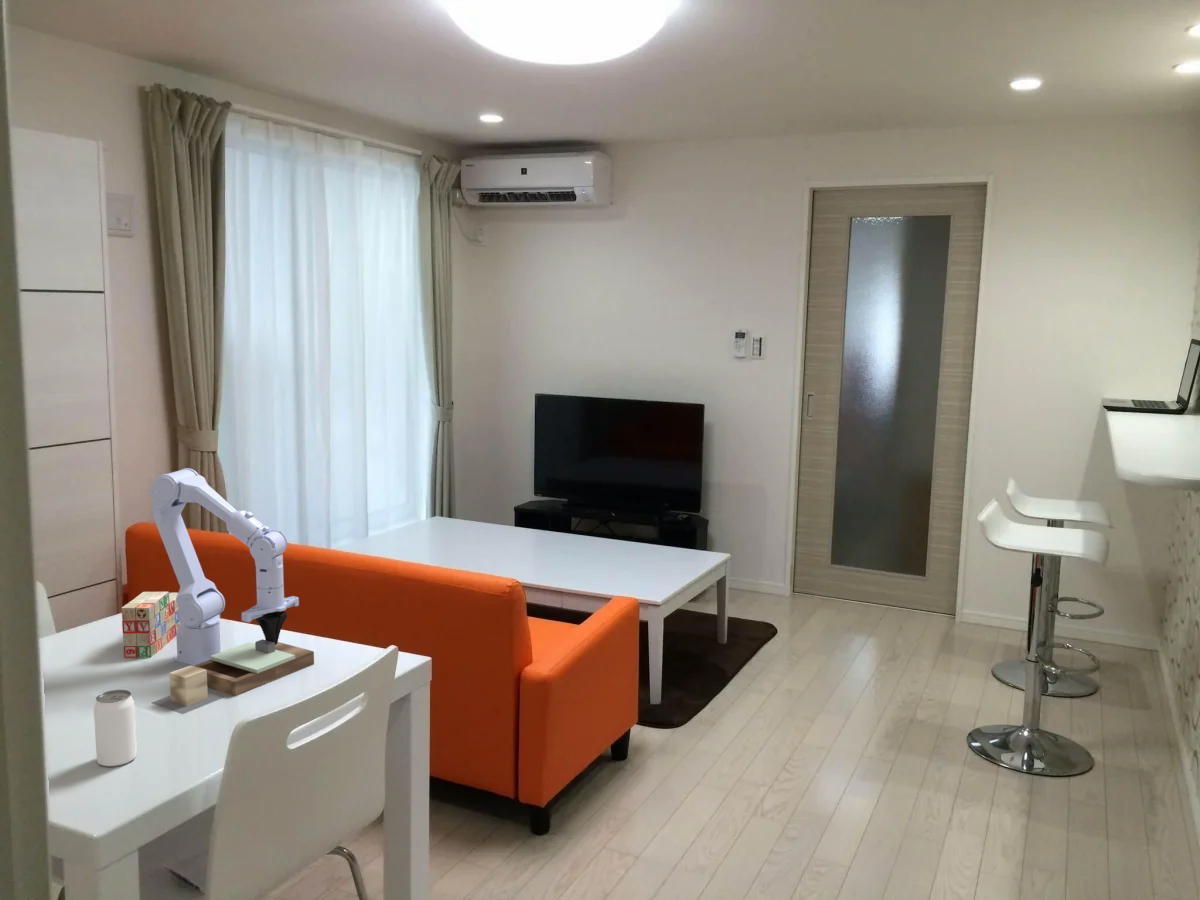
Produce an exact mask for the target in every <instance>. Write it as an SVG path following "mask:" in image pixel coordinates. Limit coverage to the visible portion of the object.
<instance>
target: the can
mask: <svg viewBox="0 0 1200 900" xmlns="http://www.w3.org/2000/svg"><path fill="white" fill-rule="evenodd" d="M95 700H96V702H94V706H93V715H94V716H93V717H94V719H93V720H94V721H93V722H94V734H95V735H94V736H95V748H96V749H95V750H96V761H97V763H98V765H100V766H101V767H105V768H115V767H120V766H125V765H128V764H130V763H131V762H133V761H134V760H135V759H136V757H137V755H138V745H137V744H138V743H137V724H136V708H135V700H134V698H133V697H132V692H131V691H130V690H129V689H112V690H108V691H105V692H101V693H99V694H98V695H97V696H96V697H95Z"/></svg>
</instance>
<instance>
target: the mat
mask: <svg viewBox="0 0 1200 900" xmlns="http://www.w3.org/2000/svg"><path fill="white" fill-rule="evenodd" d="M224 698H225V696H224V695H220V694H218V693H214V692H211V691H208V698H206V699H204V700H201V701H199V702H196V703H194V704H191V705H189V706H185V705H182V704H179V703H176V702H173V701H171V695H168V696H165V697H163V698H160V699H157V700H154V701H152V702H151V704H153V705H155V706H159V707H161V708H165V709H168V710H170V711H173V712H175V713H179V714H180V715H181V714H182V715H184V714H187V713H189V712H192V711H194V710H197V709H199V708H201V707H204V706H206V705H209V704H212V703H214V702H216V701H219V700H221V699H224Z"/></svg>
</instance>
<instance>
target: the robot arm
mask: <svg viewBox="0 0 1200 900" xmlns="http://www.w3.org/2000/svg"><path fill="white" fill-rule="evenodd" d="M148 491H149V493H150V494H149V495H150V496H151V499H152V500H151V501H152V503H151V504H152V507H151V508H152V509H151V510H152V511H151V512H152V513H151V514H152V517H153V520H154V523H155V525H156V527H157V530H158V532H159V536H160V538H161V540H162V542H163V545H164V548H165V551H166V553H167V555H168V558H169V561H170V565H171V566H172V570H173V572H174V574H175V577H176V579H177V582H178V585H179V591H178V592H177V593H178V595H177V597H176V601H177V604H178V616H179V619H180V621H181V622H182V623H181V624H180V625H179V627H178V629H177V633H176V636H175V638H176V653H177V657H174V659H173V661H175V662H181V663H184V664H187V665H189V666H190V665H191V666H194V665H197V664H200V663H202V662H205V661H208V660H210V656H212V655H215V654H217V653H220V652H222V650H221V625H220V623H221V621H220V620H221V614H222V613H223V611H224V610H225V607H226V599H225V597H224V595H223V594H222V593H221V591H219V590H218V589H217V586H216V584H215V582H213V581H211V580H210V579H208V578H206V576H205V574H204V571H203V568H202V565H201V563H200V561H199V558H198V555H197V553H196V550H195V547H194V544H193V543H192V540H191V537H190V535H189V532H188V529H187V526H186V524H185V522H184V519H183V517H182V512H183V510H184V509H185V507H186V504H187V503H197V504H198V505H200V506H202V507H203V508H205V509H206V510H207V511H209V512H211V513H212V514H213V515H215V516H216V517H218V518H219V519H220V520H222V521H224V522H225V523H226V525H225V526H226V530H227V532H229V533H230V534H231V535H232V536H234V537H235V538H236V539H237V540H238V541H240V542H241V543H243V544H244V545H245V546H246V547H248V548H249V553H250V555H251V557H252V558H253V559H254V565H255V576H256V578H255V580H256V581H255V582H256V605H253V606H252V607H250V608H249V609H247V610H244V611H242V612H241V621H242V622H244V623H251V622H252V621H253V620H255V621H256V622H257V623H258V625H259V627H260V628H261V630H262V633H263V635H264V640H267V641H270V642H274V643H275V645H277V643H278V642H279V637H280V634H281V629H282V627H283V626H284V623H285V621H286V619H287V617H288V612H287V611H286V610H287V609H289V608H292V607H298V606H299V605H300V599H299V597H298V596H295V595H291V596H288V597H285V590H284V589H285V588H284V587H285V586H284V584H285V583H284V556H283V555H284V554H283V553H284V552H286V550H287V548H288V540H287V537H286V536H285V535H284V534H283V532H282V531H281V530H278V529H271V528H270V527H269V526H268V525H264V524H263V523H262V522H261V521H259V520H258V519H257V518H256V517H255V516H254V512H253V513H252V512H251V511H250V510H249V511H247V510H245V509H244V510H237V509H236V508H234V507H233V506H232V505H231V504H230V503H229V502H228V501H227V500H226V499H224V497H222V496H221V495H220V494H219V493H218V492H217V491H216V490H214V489H213V488H212V487H211V486H210V485H209V484H208V483H207V480H206V478H205V477H204V476H202V475H200V474H199V473H198V472H197V471H196V470H195V469H192V468H189V467H188V468H187V467H185V468H182V469H180V470H176V471H172V472H169V473H163V474H160V475H157V476H156V477H155V478H154V480H153V481H152V483H151V484H150V487H149V489H148Z"/></svg>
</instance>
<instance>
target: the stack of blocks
mask: <svg viewBox="0 0 1200 900" xmlns="http://www.w3.org/2000/svg"><path fill="white" fill-rule="evenodd" d="M177 595H178V592H169V591H142V592H141V593H140V594H138V595H137V596H136V597H134V599H131V601H128V602H127V603H126V604H124V606H122V607H121V620H122V621H121V627H122V629H121V630H122V637H123V658H124V657H125V658H124V659H136V658H135V657H150V658H151V657H152V656H153V655H154V656H155V655H156V654H158V653H159V652H160V651H161V650H162V649H163V648H165V647H166V646H167V644H169V642H171V640H173V639H174V638H176V633H177V629H178V627H179V625H180V624H181V623H182V622H181V621H180V619H179V616H178V604H177V601H176V597H177ZM165 645H166V646H165ZM164 646H165V647H164ZM159 650H160V651H159ZM158 651H159V652H158ZM157 652H158V653H157ZM154 656H153V657H154ZM153 657H152V658H153Z"/></svg>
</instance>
